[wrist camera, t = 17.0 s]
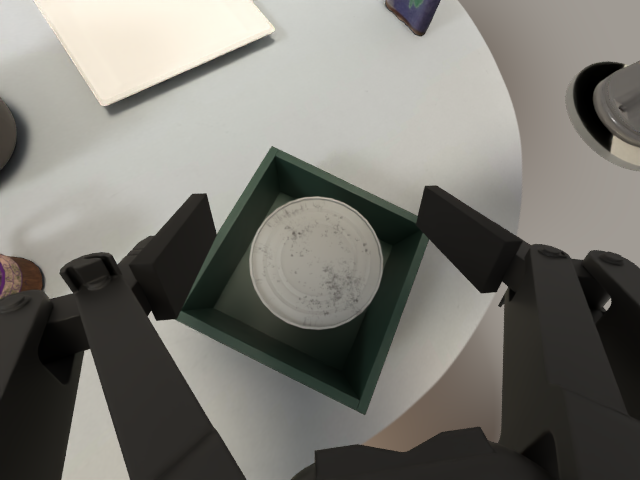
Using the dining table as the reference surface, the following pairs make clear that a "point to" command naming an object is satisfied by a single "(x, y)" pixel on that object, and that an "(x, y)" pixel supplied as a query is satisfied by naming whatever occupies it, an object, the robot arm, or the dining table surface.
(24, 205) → the dining table surface
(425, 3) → the flask
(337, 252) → the white speckled cylinder
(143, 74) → the white flat square slab
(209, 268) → the bin
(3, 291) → the mug
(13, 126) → the vase
